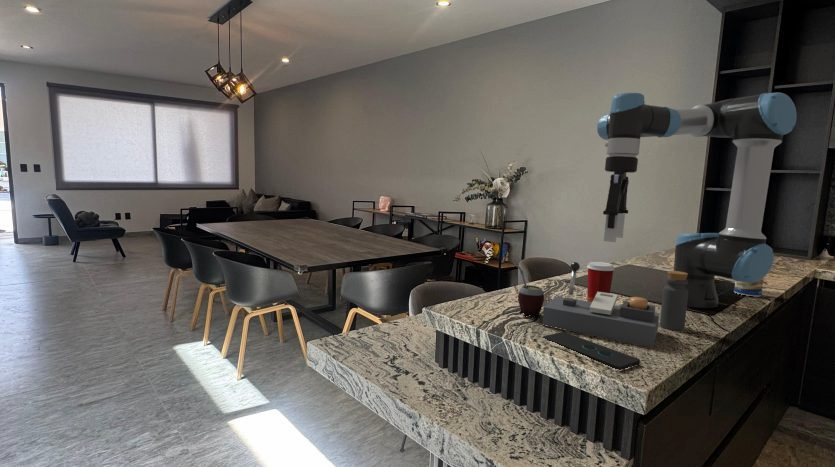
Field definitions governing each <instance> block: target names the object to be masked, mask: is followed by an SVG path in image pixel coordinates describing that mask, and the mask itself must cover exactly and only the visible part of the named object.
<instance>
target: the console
mask: <svg viewBox="0 0 835 467" xmlns="http://www.w3.org/2000/svg"><path fill="white" fill-rule="evenodd" d="M629 303H630V301H626V300H624V301H623V302H622V304H621V305H620V306H618V305H615V306H614V308H613V311H612V313H611V315H607V314H601V313H596V312H590V306H591V304H592V302H588V301H587V300H583V299H582V300H581V299H576V298H572V297H571V298H570V297H564V296H556V297H555V298H553V299H552V300H551V301H550V302H548V303H547V304H546V305H545V306H544V305H543V311H542V324H544V325H548V326H552V327H557V328H561V329H566V330H570V331H569V332H571V331H575V332H574V333H577V332H579V333H578V334H582V333H583V335H587V336H594V337H597V338H601V339H607V340H612V341H616V342H617V341H618V342H622V343H628V344H634V345H637V346H644V347H648V348H652V349H653V348H654V346H655V341H656V340H657V339H656V338H657V334H658V330H659V329H658V328H659V322H660V312H656V305H651V304H647V310H643V309H637V308H631V307H629ZM561 329H560V330H561ZM566 330H565V331H566Z"/></svg>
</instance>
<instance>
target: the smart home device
mask: <svg viewBox="0 0 835 467" xmlns="http://www.w3.org/2000/svg"><path fill="white" fill-rule="evenodd" d="M542 338H545V339H547V340H549V341H552V342H555V343H557V344H559V345H561V346H564V347H566V348H568V349H571V350H573V351H576V352H578V353H580V354H582V355H585V356H587V357H589V358H591V359H593V360H596V361H598V362H601V363H603V364H605V365H608V366H610V367H612V368H615V369H619V370H621V369H625V368H628V367H632V366H635V365H638V366H640V365H639V364H640V362H641V359H639V357H638V358H637V357H635V356H631V355H629V354H627V353H624V352H621V351H618V350H617V349H616V350H615V349H612V348H610V347H607V346H604V345H602V344H599V343H597V342H593V341H590V340H587V339H584V338H582V337H580V336H576V335H574V334H571V333H568V332H564V331H560V332H556V333H552V334H548V335H547V334H546V335H543V336H542ZM635 367H636V366H635Z"/></svg>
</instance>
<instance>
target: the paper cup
mask: <svg viewBox="0 0 835 467" xmlns="http://www.w3.org/2000/svg"><path fill="white" fill-rule="evenodd" d="M586 268H587V289H586V290H587V295H586V298H587V299H586V301H588V302H593V300H594V298H595V296H596V294H597V292H603V293H610V294H611V288H612V282H613V277H614V276H613V275H614V271H615V268H614V264H612V263H608V262H602V261H592V262H591V261H590V262H588V264H587V265H586Z"/></svg>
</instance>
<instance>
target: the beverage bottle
mask: <svg viewBox="0 0 835 467" xmlns="http://www.w3.org/2000/svg"><path fill="white" fill-rule="evenodd" d="M764 278H765V276H764V277H763V278H762V279H761V280H759V281H757V282H753V283H748V282H742V281H735V280H734V281H735V282H734V288H733V292H734V293H735V294H736V293H737V295H739V294H741V295H740V296H742V295H746V296H745V297H748V296H753V297H752V298H759V297H761V296H762V294H763V285H764Z"/></svg>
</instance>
